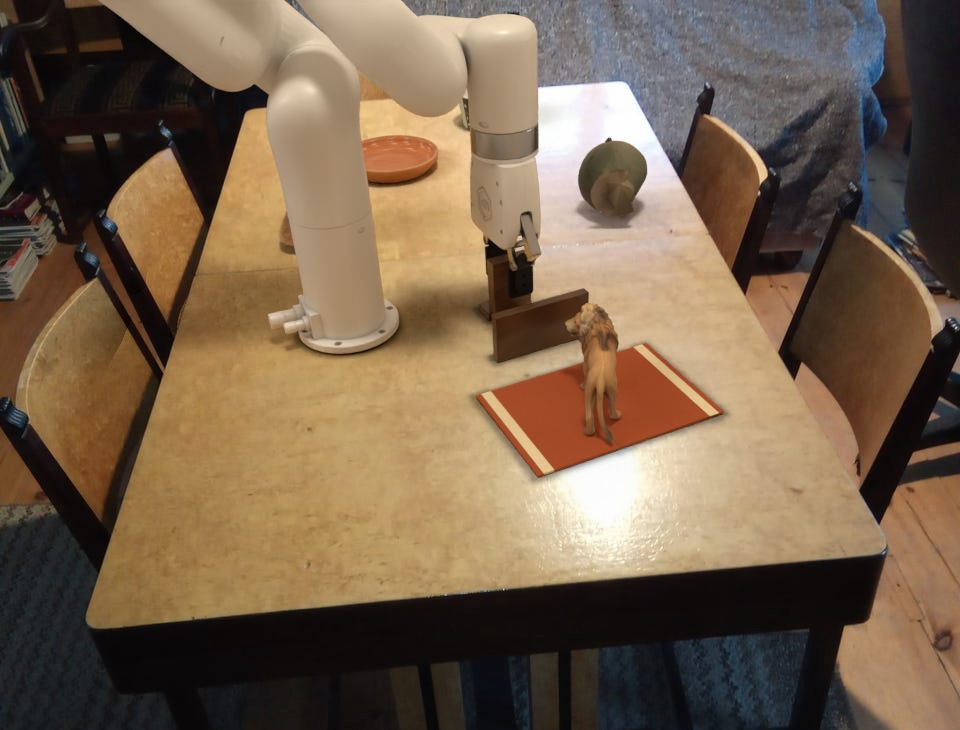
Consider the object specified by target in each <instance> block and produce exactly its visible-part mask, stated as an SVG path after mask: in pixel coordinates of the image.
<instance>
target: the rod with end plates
mask: <svg viewBox="0 0 960 730" xmlns="http://www.w3.org/2000/svg"><path fill="white" fill-rule="evenodd" d="M524 251H525V249H520V250H515V252H516V258H517V256H518V255H519V254H520V253H523V252H524ZM509 267H510V264H509V259H508V254H504V255H501V256H497V257H493V258H489V259H487V274H488V275H487V274H486V275H487V290H488V292H487V294H488V299H486V300H485V301H480V302H478V310H479V311H480V313H481V314H482V315H483V316H484V317H485V318H486V319H487V320H488V321H491V331H492V332H491V333H492V353H493V359H494V360H495V362H497V363H502V362H505V361H508V360H512V359H515V358H518V357H521V356H525V355H528V354H531V353H534V352H538V351H541V350H544V349H548V348H551V347H554V346H558V345H561V344H565V343H568V342H572V341H574V340H579V337H580V336H572V335H571V332H569V331H568V330H567V326H566V325H565V322H566V321H567V320H570V319H572V318H574V317H575V316H576V315H577V313H579V312H581V307H582V306H583V305H585V304H586V303H590V302H589V301H590V292H589V291H588V290H587V289H586V288H585V287H582V288H579V289H576V290H572V291H569V292H565V293H562V294H557V295H554V296H550V297H547V298H544V299H541V300H536V301H533V302H532V293H531V294H528V295H525V296H521V297H517V298H514V299H510V298H509V297H508V292H507V268H509Z"/></svg>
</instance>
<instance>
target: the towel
mask: <svg viewBox="0 0 960 730" xmlns="http://www.w3.org/2000/svg"><path fill="white" fill-rule="evenodd" d="M616 359H617V363H616V368H615V372H616V377H617V390H618V395H617V402H616V410H618V411H619V412H620V413H621V418H619V419H612V418H611V417H610V414H609V403H608V400H607V398H606V397H605V395H604V393H603V417H604V421H605V424H606V426H607V428H608V429H609V430H610V432H611V434H612V436H613V438H614V441H613V442H610V441H608V440H607V439H606V438H605V433H604V431H603V429H602V427H601V425H600V422H599V418H598V411H597V397H596V399H595V402H594V405H593V416H594V428H595V432H594V433H593V434H591V435H587V434H585V433H584V428H585V427H586V426H587V423H586V408H585V390H584V389H582V388H581V387H580V385H581V383H582V382H584V381H585V376H584V372H583V362H581V363H580V362H579V363H576V364H574V365H571V366H567V367H564V368H561V369H558V370H555V371H551V372H548V373H545V374H542V375H538V376H534V377H531V378H528V379H526V380H525V379H524V380H522V381H519V382H516V383H512V384H509V385H505V386H502V387H499V388H496V389H493V390H489V391H486V392H483V393H480V394H476V395H475V397H476V400H477V401H478V403H480V405H481V406H482V407H483V408H484V410H485V411H486V412H487V414H488V415H489V416H490V417H491V419H492V420H493V421H494V422H495V424H496V425H497V427H498V428H499V429H500V430H501V432H502V433H503V434H504V436H505V437H506V438H507V439H508V441H509V442H510V443H511V445H512V446H513V448H514V449H516V451H517V452H518V453H519V455H520V456H521V458H522V459H523V461H525V463H526V464H527V465H528V466H529V467H530V470H532V472H533V473H534V474H535V476H536V477H537V478H541V477H544V476H547V475H550V474H552V473H556V472H558V471H561V470H565V469H568V468H570V467H573V466H576V465H579V464H582V463H585V462H588V461H590V460H593V459H596V458H600V457H601V456H605V455H608V454H610V453H611V454H612V453H613V452H617V451H619V450H622V449H626V448H628V447H631V446H633V445H636V444H640V443H642V442H643V443H644V442H645V441H648V440H651V439H654V438H657V437H659V436H663V435H666V434H668V433H671V432H674V431H677V430H680V429H683V428H686V427H689V426H692V425H695V424H697V423H700V422H703V421H706V420H709V419H712V418H714V417H717V416H721V415H723V414H724V413H725V412H724V410H723V409H722V408H721V407H720V406H719V405H717V404H716V403H715V402H714V401H713V400H712V399H711V398H710V397H708V396H707V395H706V394H705V393H704V392H703V391H701V390H700V389H699V388H698V387H697V386H696V385H695V384H693V383H692V382H691V381H690V380H689V379H687V377H685V376H684V375H683V374H682V373H681V372H680V371H679V370H678V369H676V368H675V367H674V366H673V365H672V364H671V363H670V362H669V361H668V360H666V359H665V358H664V357H663V356H661V355H660V354H659V353H658V352H657V351H656V350H655V349H654V348H652V347H651V346H650V344H648V343H646V342H645V343H641V344H637V345H635V346H631V347H629V348H626V349H623V350H620V351H617V355H616Z"/></svg>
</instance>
